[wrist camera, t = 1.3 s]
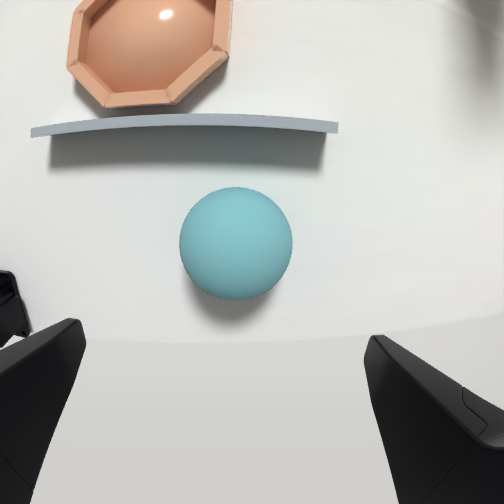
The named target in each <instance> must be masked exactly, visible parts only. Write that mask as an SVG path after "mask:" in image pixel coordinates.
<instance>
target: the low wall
mask: <svg viewBox="0 0 504 504" xmlns="http://www.w3.org/2000/svg"><path fill="white" fill-rule="evenodd" d="M150 126H244V127H265V128H280V129H293V130H304V131H314V132H324V133H338V122H331V121H323V120H314V119H304V118H293V117H280V116H265V115H245V114H159V115H139V116H125V117H112V118H102V119H92V120H84V121H76V122H68V123H61V124H54V125H48V126H42V127H36V128H31V138H33V137H41V136H49V135H57V134H65V133H73V132H82V131H92V130H103V129H115V128H130V127H150Z"/></svg>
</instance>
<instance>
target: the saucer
mask: <svg viewBox="0 0 504 504" xmlns="http://www.w3.org/2000/svg"><path fill="white" fill-rule="evenodd" d="M232 6H233V0H83V1H82V3H81V4H80V5H79V6H78V7H77V8H76V9H75V11H74V12H73V18H72V24H71V31H70V38H69V46H68V54H67V64H66V67H67V70H68V71H69V72H70V73H71V74H72V75H73V76H74V77H75V78H76V79H77V80H78V81H79V82H80V83H81V84H82V85H83V86H84V88H85V89H86V90H87V91H88V92H89V93H90V94H91V95H92V96H93V97H94V98H95V99H96V100H97V101H98V102H99V103H100V104H101V105H102V106H103V107H105V108H126V107H139V106H156V105H176V103H177V104H178V103H179V102H180V101H182V100H183V99H184V98H185V97H186V96H187V95H188V94H189V93H190V92H191V91H192V90H193V89H194V88H195V87H196V86H198V85H199V84H200V83H201V82H202V81H203V80H204V79H205V78H206V77H208V76H209V75H210V74H211V73H212V72H213V71H214V70H215V69H217V68H218V67H219V66H220V65H221V64H222V63H224V62H225V61H226V60H227V59H228V57H229V49H230V34H231V20H232Z"/></svg>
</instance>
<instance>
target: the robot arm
mask: <svg viewBox="0 0 504 504" xmlns="http://www.w3.org/2000/svg"><path fill="white" fill-rule="evenodd" d="M13 335H16V336H21V337H24V338H25V339H23V340H20V341H18V342H16V343H14V344H12V345H10V346H8V347H6V348H4V349H2V350H0V504H30V501H31V498H32V495H33V490H34V488H35V485H36V481H37V478H38V475H39V472H40V469H41V467H42V464H43V460H44V458H45V455H46V452H47V450H48V447H49V444H50V442H51V439H52V436H53V433H54V431H55V428H56V426H57V423H58V421H59V418H60V416H61V413H62V411H63V408H64V406H65V403H66V401H67V399H68V397H69V394H70V392H71V389H72V387H73V384H74V382H75V379H76V375H77V372H78V369H79V366H80V363H81V360H82V357H83V354H84V351H85V348H86V339H85V335H84V331H83V327H82V323H81V321H80V320H79V319H73V318H67V319H65V320H63V321H61V322H59V323H56V324H54V325H52V326H50V327H48V328H46V329H44V330H41V331H39V332H37V333H35V334H33V335H31V336H29V335H30V331H29V328H28V325H27V322H26V319H25V316H24V313H23V309H22V306H21V302H20V299H19V295H18V291H17V288H16V284H15V280H14V276H13V274H12V273H11V272H9V271H3V270H0V348H2V347H3V346H4V345H5V344H6V343H7V342H8V340H9V339H10V338H11V337H12V336H13ZM28 336H29V337H28ZM364 366H365V371H366V377H367V382H368V387H369V392H370V398H371V403H372V406H373V410H374V414H375V417H376V420H377V424H378V427H379V431H380V434H381V437H382V441H383V445H384V448H385V452H386V456H387V459H388V463H389V466H390V470H391V474H392V478H393V482H394V486H395V490H396V494H397V498H398V502H399V504H504V410H502V409H500V408H498V407H497V406H495V405H493V404H491V403H489V402H488V401H486V400H484V399H482V398H481V397H479V396H477V395H476V394H474V393H472V392H471V391H469V390H468V389H467V388H465V387H462V385H460V384H459V383H457V382H456V381H454V380H453V379H451V378H450V377H448V376H446V375H445V374H443V373H442V372H440V371H439V370H437V369H435V368H434V367H433V366H431V365H429V364H428V363H426V362H425V361H423V360H422V359H420V358H419V357H417V356H416V355H414V354H412V353H411V352H409V351H408V350H406V349H405V348H403V347H402V346H400V345H399V344H397V343H396V342H394V341H392V340H391V339H389V338H388V337H386V336H385V335H372V336H371V337H370V339H369V342H368V345H367V349H366V352H365V355H364Z"/></svg>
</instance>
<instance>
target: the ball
mask: <svg viewBox="0 0 504 504" xmlns="http://www.w3.org/2000/svg"><path fill="white" fill-rule="evenodd" d="M179 247H180V255H181V259H182V262H183V265H184V267H185V269H186V271H187V273H188V275H189V276H190V277H191V279H192V280H193V281H194V282H195V283H196V284H197V285H198V286H199V287H200V288H201V289H203V290H204V291H206V292H207V293H209V294H211V295H213V296H215V297H218V298H221V299H226V300H246V299H250V298H253V297H256V296H259V295H261V294H263V293H264V292H266V291H268V290H269V289H271V288H272V287H273V286H274V285H275V284H276V283H277V282H278V281H279V280H280V278H281V277H282V276H283V274H284V272H285V271H286V269H287V267H288V264H289V261H290V258H291V253H292V234H291V230H290V226H289V223H288V221H287V219H286V217H285V215H284V214H283V212H282V211H281V209H280V208H279V207H278V206H277V205H276V204H275V203H274V202H273V201H272V200H271V199H270V198H268V197H267V196H265V195H263V194H262V193H260V192H257V191H254V190H251V189H247V188H240V187H232V188H225V189H221V190H217V191H215V192H212V193H210V194H208V195H207V196H205V197H204V198H202V199H201V200H200V201H199V202H198V203H196V204H195V206H194V207H193V208H192V209H191V210H190V212H189V213H188V215H187V217H186V219H185V221H184V223H183V226H182V229H181V233H180V244H179Z"/></svg>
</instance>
